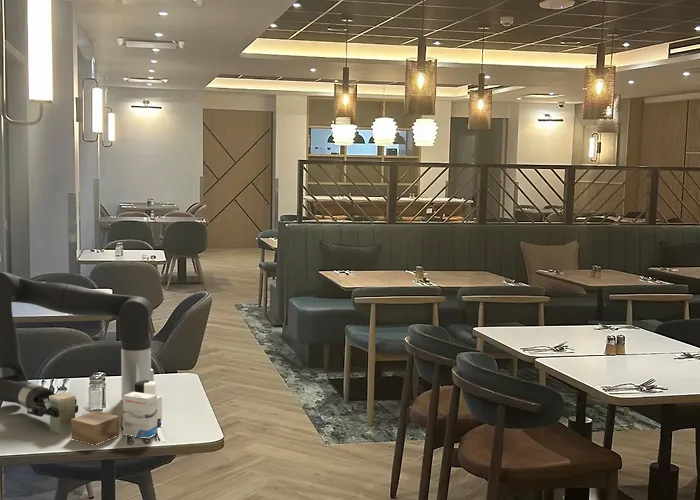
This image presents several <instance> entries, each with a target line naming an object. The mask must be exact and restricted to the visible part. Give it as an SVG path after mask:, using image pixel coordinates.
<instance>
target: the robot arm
mask: <svg viewBox="0 0 700 500" xmlns="http://www.w3.org/2000/svg"><path fill="white" fill-rule="evenodd" d="M12 303H20V304H21V303H22V304H30V305H35V306H38V307H41V308H45V309H47V310H50V311H52V312H53V311H54V312H58V313H62V314H66V315H67V314H68V315H73V316H84V317H89V316H90V317H91V316H107V317H113V318H118V329H119V340H120V347H121V350H120V353H121V354H120V358H121V359H120V360H121V368H120V369H121V402H123V396H124V395H126V394H128V393H131V392H135V383H137V382H139V381H142V380H150V381H153V382H155V378H154V377H155V371H154V369H153V368H152V339H151V337H150V319H151V318H152V316H153V312H154V307H153V304H152V302H150V301H149V299H147V298H146V297H144V296H140V295H139V296H138V295H126V294H125V295H124V294H116V293H115V294H114V293H109V292H104V291H101V290H98V289H93V288H89V287H88V288H87V287H84V286H81V285H74V284H69V283H61V282H40V281H35V280H32V279H28V278H25V277H24V278H23V277H21V276H18V275H15V274H13V273H10V272H5V271H0V369H3V370H8V371H9V372H10V374H11V375H7V376H6V375H4V376H0V402H6V403H12V404H13V403H14V404H15V403H16V404H18V405H20V406H21V407H22V406H23V408H25V409H26V412H27V414H29V415H33V416H35V417H38V418H39V417H40V418H42V417H44V415H45V416H46V417H47V416H48V417H50V416H52V417H55V418H57V417H59V411H58V410H57V409H55V408H53V407H50V399H49V396H51V395H55V394H56V393H55V392H54V391H53V390H51V389H48V388H47V387H44V386H42V385H40V384H39V385H38V384H34V383H32V382H30V381H29V380H28V377H27V375H26V373H25V370H24V366H23V364H22V360H21V350H20V349H21V348H20V342H19V336H18V332H17V329H16V325H15V321H14V316H13V309H12V308H13V306H12ZM77 401H78V399H77V398H76V399H75V414H77V413H78V412H79V404H77V403H78V402H77Z"/></svg>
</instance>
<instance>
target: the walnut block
mask: <svg viewBox="0 0 700 500" xmlns="http://www.w3.org/2000/svg"><path fill="white" fill-rule="evenodd" d="M70 432H71V433H70V436H71V437H70V438H71V439H74V440H73V441H75V440H78V441H82V442H86V443H89V444H93V445H96V444H98V443H101V442H103V441H106V440H108V439H111V438H113V437H115V436H118V435H119V436H120V416H119V415H115V414H110V413H107V412H104V411H98V410H93V411H90V412H88V413H85V414H82V415H79V416H77V417H76V416H75V418H73V419H71V431H70ZM119 436H118V437H119ZM71 439H70V440H71ZM113 439H114V438H113ZM111 440H112V439H111ZM78 441H77V442H78ZM108 441H109V440H108ZM82 442H81V443H82ZM106 442H107V441H106ZM89 444H88V445H89ZM101 444H102V443H101ZM93 445H92V446H93ZM96 446H97V445H96Z"/></svg>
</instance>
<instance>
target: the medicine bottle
mask: <svg viewBox="0 0 700 500" xmlns="http://www.w3.org/2000/svg"><path fill="white" fill-rule="evenodd" d="M156 386H157V383H156V382H155V381H154V382H153V381H150V380H142V381H139V382H137V383H135V392H139V393H146V394H153V395H157V393H156V392H157V391H156V390H157V389H156ZM158 419H160V420H162V419H163V396H162V395H157V420H158ZM158 421H159V420H158Z"/></svg>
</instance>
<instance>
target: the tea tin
mask: <svg viewBox="0 0 700 500" xmlns="http://www.w3.org/2000/svg"><path fill="white" fill-rule="evenodd" d="M49 399H50V407H53V408H55V409H57V410H58V411H59V417H57V418H55V417H52V416H50V415H49V429H50V431H51V432H53V433H55V432H56V434H57V433H58V435H62V434H61V433H63V434H66V433H70V432H71V419H73V418H76V413H75V399H77V397H76V395H74V394H71V393H69V392H66V391H64V392H59V393H55V395H51V396H49ZM65 432H66V433H65Z"/></svg>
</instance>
